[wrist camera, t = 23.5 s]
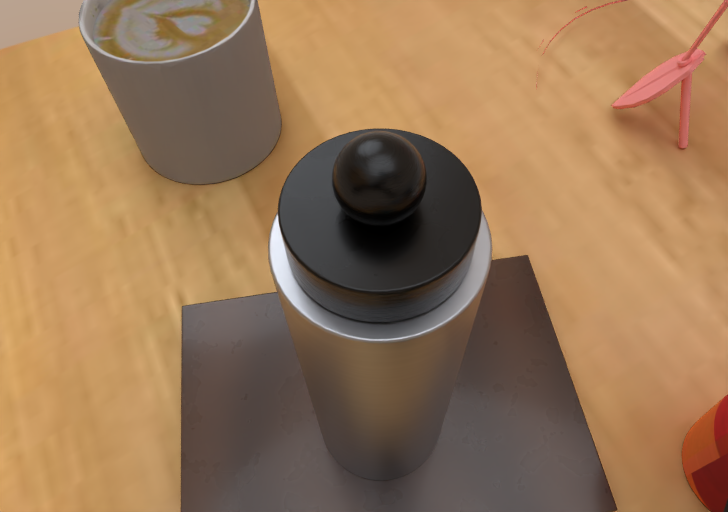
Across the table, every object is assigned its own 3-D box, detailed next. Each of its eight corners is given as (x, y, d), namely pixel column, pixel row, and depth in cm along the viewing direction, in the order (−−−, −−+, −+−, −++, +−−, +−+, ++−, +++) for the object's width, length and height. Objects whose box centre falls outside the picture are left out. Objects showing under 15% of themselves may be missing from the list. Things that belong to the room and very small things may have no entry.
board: (523, 265, 36) (527, 254, 35) (609, 514, 28) (618, 510, 27) (187, 315, 35) (181, 305, 34) (187, 588, 27) (179, 587, 26)
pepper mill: (462, 402, 30) (566, 118, 13) (398, 507, 28) (424, 322, 11) (365, 341, 32) (346, 22, 15) (296, 433, 30) (181, 177, 13)
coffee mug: (306, 145, 41) (286, 20, 33) (171, 207, 39) (111, 90, 30) (226, 37, 47) (191, -92, 39) (104, 85, 45) (39, -41, 36)
